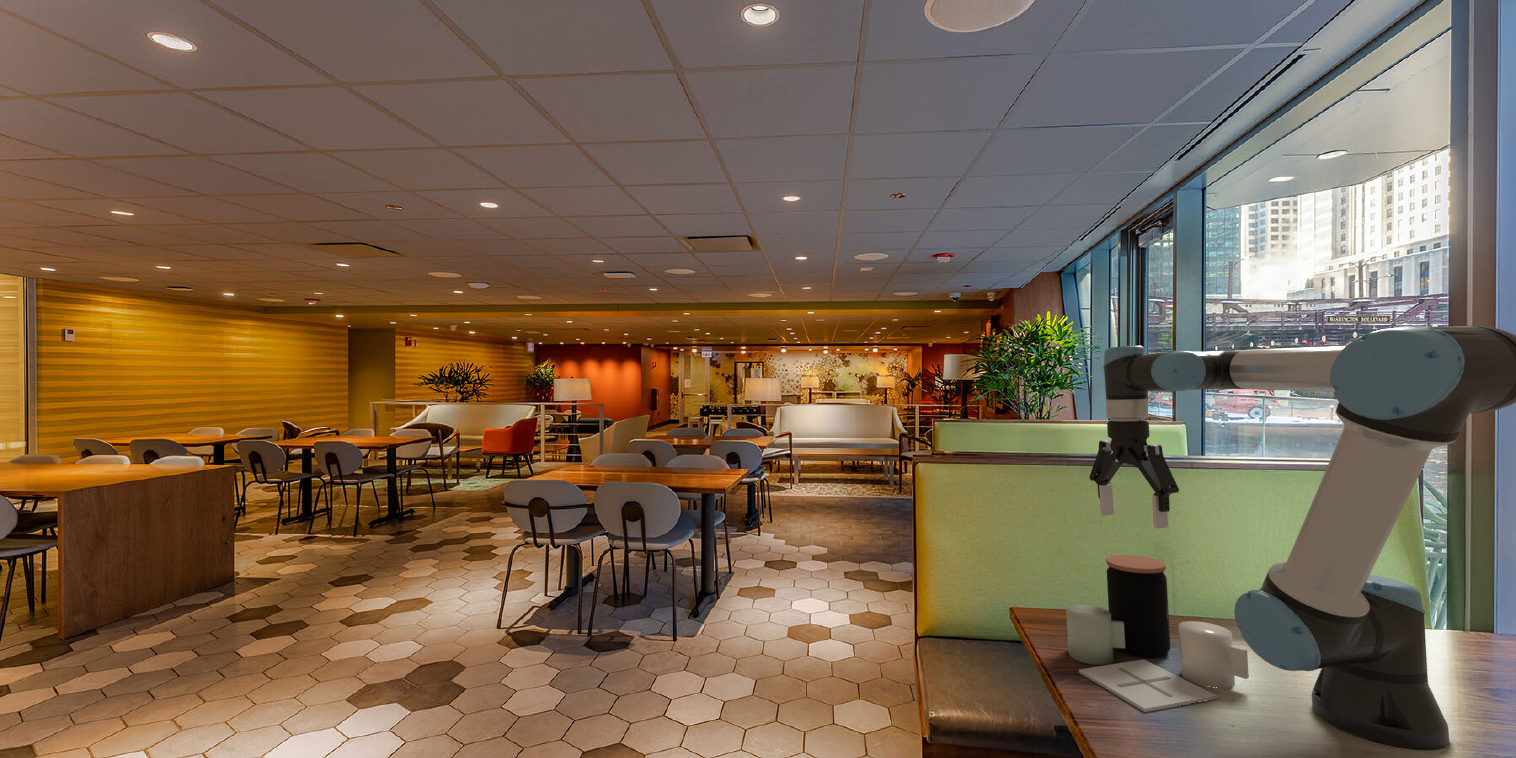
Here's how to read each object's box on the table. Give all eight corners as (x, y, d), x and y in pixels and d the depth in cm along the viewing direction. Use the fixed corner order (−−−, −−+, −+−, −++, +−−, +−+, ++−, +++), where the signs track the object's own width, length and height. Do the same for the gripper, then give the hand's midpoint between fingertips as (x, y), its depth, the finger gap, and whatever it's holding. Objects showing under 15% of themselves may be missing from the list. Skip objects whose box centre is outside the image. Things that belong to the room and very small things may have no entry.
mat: (1217, 699, 104) (1217, 695, 104) (1145, 712, 101) (1144, 708, 101) (1144, 662, 118) (1143, 658, 118) (1079, 672, 115) (1078, 669, 115)
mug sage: (1072, 662, 120) (1070, 617, 120) (1065, 646, 127) (1063, 603, 127) (1131, 667, 117) (1128, 621, 117) (1119, 650, 124) (1117, 606, 124)
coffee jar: (1183, 658, 119) (1178, 568, 120) (1129, 660, 120) (1124, 569, 120) (1149, 637, 130) (1145, 553, 131) (1099, 638, 130) (1095, 555, 131)
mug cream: (1173, 676, 113) (1170, 627, 113) (1192, 664, 117) (1189, 618, 117) (1239, 698, 104) (1236, 645, 104) (1257, 684, 108) (1254, 634, 109)
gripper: (1197, 420, 115) (1203, 532, 114) (1097, 417, 139) (1101, 508, 139) (1164, 422, 113) (1170, 535, 113) (1069, 418, 138) (1073, 511, 137)
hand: (1132, 521), depth 126 cm, fingers open, 13 cm apart
